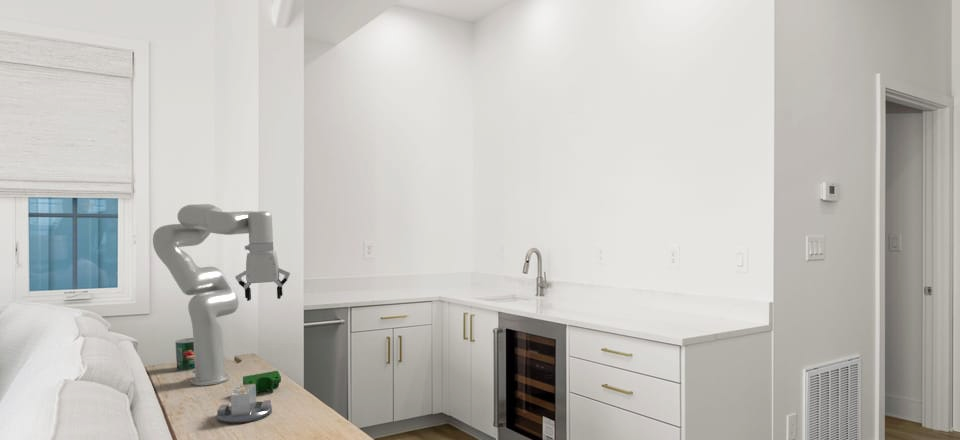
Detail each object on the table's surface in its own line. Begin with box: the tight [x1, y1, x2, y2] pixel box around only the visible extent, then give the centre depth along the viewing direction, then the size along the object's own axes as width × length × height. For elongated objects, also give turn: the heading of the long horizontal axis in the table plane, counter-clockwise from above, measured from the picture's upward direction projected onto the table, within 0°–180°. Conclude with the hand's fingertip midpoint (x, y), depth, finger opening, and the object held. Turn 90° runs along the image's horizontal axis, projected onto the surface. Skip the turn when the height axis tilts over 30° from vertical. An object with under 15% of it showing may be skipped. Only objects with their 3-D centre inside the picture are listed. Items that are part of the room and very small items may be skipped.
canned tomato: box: [175, 337, 195, 372], centre depth 238 cm, size 8×8×11 cm
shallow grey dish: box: [216, 399, 273, 425], centre depth 181 cm, size 15×15×3 cm
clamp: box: [242, 370, 282, 397], centre depth 202 cm, size 12×6×9 cm, turn 115°
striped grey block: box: [230, 384, 258, 416], centre depth 181 cm, size 5×10×6 cm, turn 10°
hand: (264, 299), depth 205 cm, fingers open, 9 cm apart
